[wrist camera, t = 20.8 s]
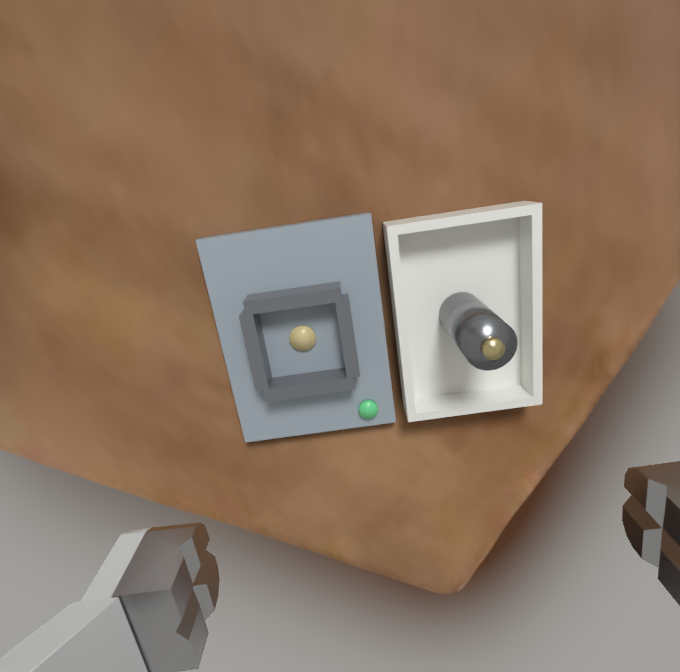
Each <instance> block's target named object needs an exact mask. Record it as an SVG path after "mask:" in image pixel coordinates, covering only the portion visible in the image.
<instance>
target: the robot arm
mask: <svg viewBox="0 0 680 672" xmlns="http://www.w3.org/2000/svg"><path fill="white" fill-rule="evenodd" d="M624 487H625V488H626V489H627V490H628V491H629V493H630V494H631V496H630V498H629V499H628V500H627V501H626V502H625V504H624V505H623V513H622V516H623V517H622V521H623V525H624V528H625V532H626V535H627V537H628V539H629V541H630V543H631V545H632V547H633V548H634V549H635V551H636V552H637V553H638V555H639V556H640V557H641V558H642V559H643V560H645V561H647V562H649V563H651V564H653V565H655V566H657V567H658V580H659V581H660V582H661V583H662V584H663V586H664V587H665V588H666V590H667V591H668V592H669V593H670V594H671V596H672V597H673V598H674V599H675V601H676V602H677V603H678V604H679V605H680V461H677V462H670V463H662V464H655V465H648V466H640V467H632V468H628V470H627V472H626V474H625V480H624ZM208 542H209V536H208V533H207V530H206V527H205V525H204V524H202V523H191V524H182V525H172V526H163V527H153V528H147V529H138V530H128V531H126V532H124V533H123V534H121V535H120V536H119V538H118V539H117V541H116V543H115V544H114V546H113V548H112V549H111V551H110V553H109V554H108V556H107V558H106V559H105V561H104V563H103V564H102V566H101V568H100V569H99V571H98V572H97V574H96V576H95V577H94V579H93V581H92V582H91V584H90V586H89V587H88V589H87V591H86V593H85V594H84V596H83V597H82V599H81V601H80V602H74V603H71V604H69V605H68V606H67V607H66V608H64V609H63V610H62V611H60V612H59V613H58V614H57V615H55V616H54V617H53V618H51V619H50V620H49V621H48V622H47V623H45V624H44V625H42V627H40V628H39V629H37V630H36V631H35V632H33V633H32V634H31V635H30V636H28V637H27V638H26V639H24V640H23V641H22V642H21V643H19V644H18V645H17V646H15V647H14V648H13V649H12V650H10V651H9V652H8V653H6V654H5V655H4V656H3V657H1V658H0V672H178V671H185V670H192V669H198V668H199V664H200V661H201V657H202V654H203V650H204V646H205V643H206V639H207V636H208V629H207V626H206V623H205V620H206V619H207V618H208V617H209V616H210V614H211V613H212V612H213V611H214V610H215V606H216V603H217V599H218V590H219V572H218V566H217V562H216V559H215V556H213V555H212V554H211V553H209V552H208V551H207V550H206V548H207V545H208Z"/></svg>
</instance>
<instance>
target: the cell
mask: <svg viewBox="0 0 680 672" xmlns="http://www.w3.org/2000/svg"><path fill="white" fill-rule="evenodd" d="M439 320H440V322H441V324H442V326H443V327H444V329H445V330H446V331H447V333H448V334H449V336H450V337H451V338H452V340H453V341H454V342H455V344H456V345H457V347H458V348H459V349H460V351H461V352H462V353H463V355H464V356H465V358H466V359H467V360H468V362H469V363H470V364H471V365H472V366H474V367H475V368H477V369H480V370H485V371H490V370H496V369H499V368H501V367H503V366H504V365H506V364H507V363H508V362H509V361H510V360H511V359H512V358H513V356H514V355H515V352H516V350H517V344H518V341H517V336H516V333H515V332H514V330H513V329H512V328H511V327H510V326H509V325H508V324H507V323H506V322H505V321H503V320H502V319H501V318H500V317H499V316H498V315H496V314H495V313H494V312H493V311H492V310H491V309H489V308H488V307H487V306H486V305H485V304H484V303H483V302H481V301H480V300H479V299H478V298H477V297H476V296H474V295H473V294H471V293H468V292H458V293H454V294H452V295H450V296H449V297H447V298H446V299H445V300H444V302H443V303H442V305H441V307H440V310H439Z"/></svg>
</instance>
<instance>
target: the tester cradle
mask: <svg viewBox="0 0 680 672" xmlns="http://www.w3.org/2000/svg"><path fill="white" fill-rule="evenodd" d="M196 244H197V248H198V252H199V256H200V260H201V264H202V268H203V272H204V277H205V281H206V285H207V289H208V293H209V297H210V301H211V305H212V309H213V313H214V317H215V321H216V325H217V329H218V333H219V337H220V342H221V346H222V350H223V354H224V358H225V362H226V366H227V370H228V374H229V378H230V382H231V386H232V390H233V394H234V398H235V402H236V407H237V411H238V415H239V419H240V423H241V427H242V431H243V435H244V439H245V442H253V441H260V440H267V439H275V438H282V437H290V436H297V435H305V434H312V433H320V432H327V431H334V430H342V429H349V428H357V427H364V426H372V425H379V424H387V423H394V422H396V418H395V410H394V402H393V393H392V385H391V377H390V369H389V360H388V352H387V344H386V335H385V327H384V319H383V310H382V302H381V294H380V285H379V277H378V269H377V260H376V252H375V244H374V235H373V227H372V219H371V213H370V212H368V213H361V214H354V215H348V216H341V217H335V218H328V219H321V220H315V221H308V222H302V223H295V224H288V225H282V226H275V227H269V228H262V229H255V230H249V231H242V232H235V233H229V234H222V235H216V236H209V237H202V238H199V239H197V240H196Z"/></svg>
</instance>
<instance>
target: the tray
mask: <svg viewBox="0 0 680 672" xmlns="http://www.w3.org/2000/svg"><path fill="white" fill-rule="evenodd" d="M382 223H383V232H384V241H385V250H386V259H387V268H388V277H389V285H390V294H391V303H392V312H393V321H394V330H395V339H396V347H397V356H398V365H399V374H400V383H401V392H402V401H403V406H404V410H405V413H406V416H407V420H408V422H414V421H421V420H429V419H436V418H444V417H451V416H459V415H466V414H474V413H481V412H488V411H496V410H503V409H511V408H518V407H526V406H533V405H541V404H542V203H538V202H530V201H520V202H513V203H507V204H500V205H493V206H487V207H480V208H473V209H467V210H460V211H453V212H447V213H440V214H433V215H427V216H420V217H414V218H407V219H400V220H394V221H387V222H382ZM458 292H468V293H471V294H473V295H474V296H476V297H477V298H478V299H479V300H480V301H481V302H483V303H484V304H485V305H486V306H487V307H488V308H489V309H491V310H492V311H493V312H494V313H495V314H496V315H498V316H499V317H500V318H501V319H502V320H503V321H505V322H506V323H507V324H508V325H509V326H510V327H511V328H512V329H513V330H514V332H515V333H516V336H517V341H518V344H517V350H516V352H515V355H514V356H513V358H512V359H511V360H510V361H509V362H508V363H507V364H506V365H504V366H503V367H501V368H499V369H496V370H490V371H485V370H480V369H477V368H475V367H474V366H472V365H471V364H470V363H469V362H468V360H467V359H466V358H465V356H464V355H463V353H462V352H461V351H460V349H459V348H458V347H457V345H456V344H455V342H454V341H453V340H452V338H451V337H450V336H449V334H448V333H447V331H446V330H445V329H444V327H443V326H442V324H441V322H440V320H439V310H440V307H441V305H442V303H443V302H444V300H445V299H446V298H447V297H449V296H450V295H452V294H454V293H458Z"/></svg>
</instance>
